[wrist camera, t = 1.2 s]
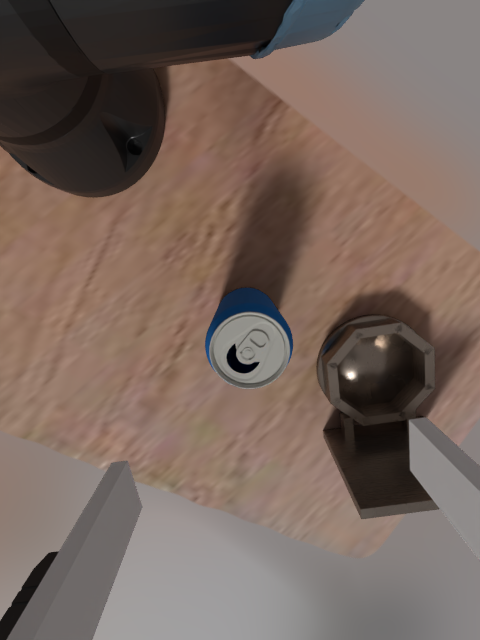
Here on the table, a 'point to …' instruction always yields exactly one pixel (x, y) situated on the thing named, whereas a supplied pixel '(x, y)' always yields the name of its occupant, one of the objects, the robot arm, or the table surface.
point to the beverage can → (248, 340)
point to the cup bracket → (377, 410)
